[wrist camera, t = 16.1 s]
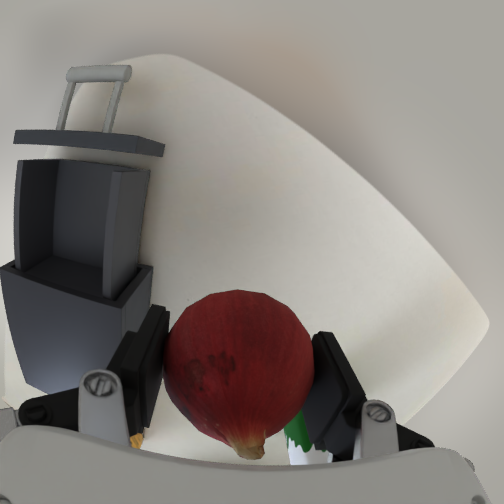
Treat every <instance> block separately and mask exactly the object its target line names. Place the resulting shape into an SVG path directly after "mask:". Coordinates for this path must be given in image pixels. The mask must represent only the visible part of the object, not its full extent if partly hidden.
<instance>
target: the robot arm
mask: <svg viewBox="0 0 504 504" xmlns="http://www.w3.org/2000/svg"><path fill="white" fill-rule="evenodd" d="M169 319H170V311H166V307H163V306H159V305H154V304H152V305H151V307H150V309H149V311H148V313H147V314H146V316H145V318H144V320H143V322H142V324H141V326H140V328H139V330H138V332H134V331H130V330H128V331H127V332H126V333H125V335H124V337H123V339H122V340H121V342H120V344H119V346H118V348H117V349H116V351H115V353H114V355H113V357H112V359H111V360H110V362H109V364H108V366H107V368H106V369H92V370H89V371H87V372H85V373H84V374H83V375H82V376H81V378H80V381H79V387H77V388H73V389H69V390H65V391H61V392H57V393H53V394H49V395H45V396H40V397H36V398H31V399H29V400H26V401H25V402H24V403H22V404H21V406H20V408H19V410H14V409H13V407H11V408H5V409H0V504H491V502H490V500H489V498H488V496H487V494H486V492H485V490H484V488H483V486H482V485H481V483H480V481H479V480H478V478H477V476H476V474H475V473H474V466H473V463H471V461H470V460H468V459H466V458H464V457H462V456H461V455H460V454H459V453H458V452H456V451H454V450H451V449H446V448H436V447H435V446H434V444H433V442H432V441H430V440H429V439H428V438H426V437H424V436H422V435H420V434H418V433H416V432H414V431H412V430H409V429H407V428H405V427H403V426H401V425H399V424H397V423H396V419H395V413H394V411H393V409H392V408H391V407H390V406H389V405H388V404H386V403H385V402H383V401H380V400H368V401H367V399H366V397H365V395H366V394H365V392H364V390H363V388H362V386H361V385H360V383H359V381H358V379H357V377H356V375H355V373H354V371H353V369H352V368H351V366H350V364H349V362H348V360H347V358H346V356H345V354H344V353H343V351H342V349H341V347H340V345H339V343H338V342H337V340H336V338H335V336H334V334H333V333H332V332H323V331H319V332H318V334H314V336H313V338H312V340H311V343H312V347H313V358H314V369H315V373H314V380H313V384H312V387H311V389H310V391H309V394H308V396H307V398H306V401H305V403H304V405H303V407H302V409H301V410H302V414H303V417H304V421H305V425H306V429H307V433H308V436H309V440H310V443H311V444H314V447H315V450H327V451H328V452H329V455H328V461H327V463H322V464H309V465H284V466H265V465H240V464H226V463H216V462H207V461H199V460H192V459H186V458H180V457H174V456H169V455H164V454H159V453H154V452H150V451H145V450H141V449H137V448H133V447H132V446H131V441H130V437H132V436H134V435H137V433H140V434H142V433H143V429H144V427H146V428H149V426H150V422H151V419H152V415H153V411H154V407H155V403H156V400H157V396H158V392H159V389H160V385H161V382H162V378H163V351H164V341H165V338H166V337H167V335H168V331H169Z"/></svg>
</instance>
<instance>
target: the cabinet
mask: <svg viewBox="0 0 504 504" xmlns="http://www.w3.org/2000/svg"><path fill="white" fill-rule="evenodd" d="M152 274H153V267H152V266H147V265H143V264H138V263H137V273H136V277H135V278H134V279H133V280H132V282H131V283H130V284H129V285H128V286H127V288H126V289H125V290H124V291H123V293H122V294H121V295H120V296H119V297H118V299H117V300H116V301H113V300H109V299H105V298H102V297H98V296H95V295H92V294H88V293H85V292H81V291H78V290H75V289H72V288H69V287H65V286H62V285H59V284H56V283H53V282H50V281H47V280H44V279H42V278H39V277H36V276H33V275H30V274H27V273H25V272H22V271H19V270H17V269H16V267H15V259H14V260H13V261H11V262H9V263H7V264H5V265H3V266H2V267H0V279H1V286H2V293H3V299H4V304H5V309H6V314H7V319H8V324H9V328H10V332H11V336H12V340H13V344H14V347H15V351H16V354H17V357H18V361H19V364H20V367H21V370H22V373H23V376H24V378H25V381H26V383H27V384H29V385H31V386H33V387H35V388H37V389H39V390H41V391H43V392H45V393H47V394H53V393H57V392H61V391H65V390H69V389H73V388H77V387H79V381H80V378H81V376H82V375H83V374H84V373H85V372H87V371H89V370H92V369H106V368H107V366H108V364H109V362H110V360H111V359H112V357H113V355H114V353H115V351H116V349H117V348H118V346H119V344H120V342H121V340H122V339H123V337H124V335H125V333H126V332H127V331H128V330H130V331H134V332H138V330H139V328H140V326H141V324H142V322H143V320H144V318H145V316H146V314H147V313H148V311H149V308H150V296H151V284H152Z"/></svg>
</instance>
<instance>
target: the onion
mask: <svg viewBox="0 0 504 504" xmlns="http://www.w3.org/2000/svg"><path fill="white" fill-rule="evenodd" d="M314 373H315V369H314V358H313V347H312V343H311V338H310V335H309V333H308V332H307V331H306V329H305V328H304V326H303V325H302V323H301V322H300V321H299V319H298V318H297V316H296V315H295V313H294V312H293V311H292V310H291V309H290V308H289V307H288V306H286V305H284V304H283V303H281V302H279V301H277V300H275V299H274V298H272V297H270V296H268V295H266V294H265V293H258V292H251V291H244V290H238V289H237V290H231V291H226V292H220V293H214V294H209V295H208V296H206V297H204V298H202V299H201V300H199V301H197V302H195V303H194V304H192V305H190V306H188V307H187V308H186V309H185V310H184V312H183V313H182V314H181V316H180V317H179V319H178V320H177V321H176V323H175V324H174V326H173V327H172V328H171V330H170V332H169V333H168V335H167V337H166V338H165V341H164V351H163V379H164V384H165V388H166V391H167V393H168V395H169V397H170V399H171V401H172V402H173V403H174V405H175V406H176V407H177V408H178V409H179V411H180V412H181V413H182V414H183V415H184V416H185V417H186V418H187V419H188V420H189V421H190V422H191V423H192V424H193V425H194V426H195V427H196V428H197V429H198V430H199V431H200V432H202V433H204V434H206V435H208V436H210V437H212V438H214V439H216V440H219V441H222V442H223V443H225V444H227V445H228V446H230V447H232V448H233V449H234V450H235V452H236V453H237V454H238V455H239V456H240V457H242V458H244V459H247V460H257V459H261V458H262V457H263V455H264V454H265V452H264V448H263V445H264V444H265V439H266V438H268V437H270V436H272V435H274V434H276V433H278V432H279V431H280V430H282V429H283V428H284V427H285V426H286V425H287V424H288V423H289V422H290V421H291V420H292V419H293V418H294V417H295V416H296V415H297V414H298V413H299V411H300V410H301V409H302V407H303V405H304V403H305V401H306V398H307V396H308V394H309V391H310V389H311V387H312V384H313V380H314Z"/></svg>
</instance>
